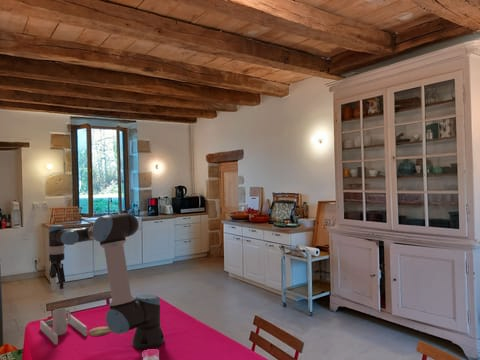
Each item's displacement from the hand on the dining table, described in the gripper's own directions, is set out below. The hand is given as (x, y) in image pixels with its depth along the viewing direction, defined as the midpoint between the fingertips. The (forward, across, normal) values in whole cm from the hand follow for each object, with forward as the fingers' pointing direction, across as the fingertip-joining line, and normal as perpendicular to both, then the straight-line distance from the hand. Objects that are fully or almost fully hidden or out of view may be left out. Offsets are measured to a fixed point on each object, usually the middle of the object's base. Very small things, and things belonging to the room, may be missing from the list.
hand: (57, 292), depth 206 cm
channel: (+19, -11, 0) cm, 22 cm away
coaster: (+19, -24, -14) cm, 33 cm away
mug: (+19, -10, 0) cm, 22 cm away
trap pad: (+19, +7, 0) cm, 20 cm away
